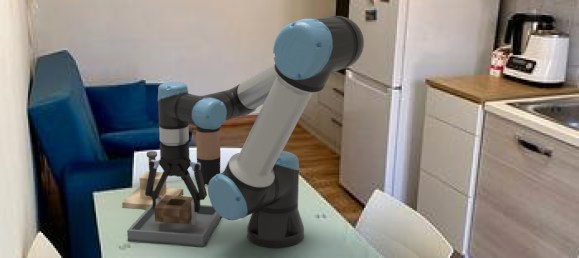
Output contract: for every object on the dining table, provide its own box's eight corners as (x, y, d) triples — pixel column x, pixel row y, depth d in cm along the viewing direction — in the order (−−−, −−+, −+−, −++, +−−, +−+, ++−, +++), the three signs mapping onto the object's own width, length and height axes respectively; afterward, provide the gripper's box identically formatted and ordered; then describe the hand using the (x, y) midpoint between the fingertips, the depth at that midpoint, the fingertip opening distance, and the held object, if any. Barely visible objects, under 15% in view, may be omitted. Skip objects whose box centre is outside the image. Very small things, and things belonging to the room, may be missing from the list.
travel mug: (194, 184, 205) (192, 124, 200) (201, 176, 212) (200, 118, 207) (217, 186, 204) (216, 126, 198) (223, 178, 211) (222, 120, 206)
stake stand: (183, 193, 197) (181, 147, 193) (168, 210, 184) (167, 161, 180) (139, 190, 199) (137, 144, 195) (122, 207, 185) (119, 158, 182)
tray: (222, 216, 181) (221, 206, 180) (203, 247, 162) (202, 236, 161) (154, 211, 183) (153, 201, 182) (127, 241, 164) (127, 230, 163)
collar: (197, 210, 175) (197, 197, 174) (188, 224, 167) (187, 209, 166) (166, 208, 176) (165, 195, 175) (155, 221, 168) (154, 207, 167)
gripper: (218, 139, 168) (219, 218, 174) (139, 135, 171) (143, 213, 177) (211, 148, 161) (212, 230, 167) (129, 143, 164) (133, 224, 170)
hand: (177, 221), depth 172 cm, fingers closed on collar, 9 cm apart
